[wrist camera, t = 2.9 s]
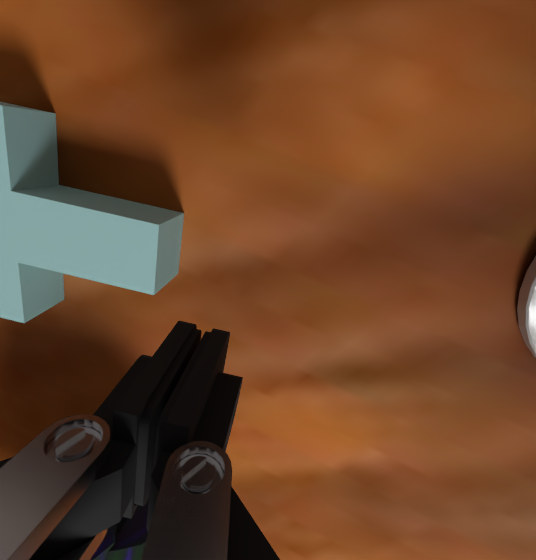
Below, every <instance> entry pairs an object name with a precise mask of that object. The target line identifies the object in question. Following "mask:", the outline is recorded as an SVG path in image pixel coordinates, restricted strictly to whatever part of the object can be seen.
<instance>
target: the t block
mask: <svg viewBox="0 0 536 560" xmlns="http://www.w3.org/2000/svg"><path fill="white" fill-rule="evenodd" d="M183 219H184V213H182V212H177V211H173V210H168V209H164V208H159V207H155V206H151V205H146V204H142V203H137V202H133V201H129V200H124V199H120V198H115V197H111V196H106V195H102V194H98V193H93V192H89V191H84V190H80V189H76V188H71V187H67V186H62V185H59V174H58V152H57V131H56V113H51V112H47V111H42V110H37V109H33V108H28V107H23V106H19V105H14V104H10V103H5V102H0V317H1V318H5V319H9V320H13V321H17V322H21V323H26V322H27V321H29V320H31V319H32V318H34V317H36V316H38V315H39V314H41V313H43V312H44V311H46V310H48V309H49V308H51V307H53V306H54V305H56V304H58V303H59V302H61V301H63V300H64V281H63V273H64V274H68V275H72V276H76V277H81V278H85V279H89V280H93V281H97V282H101V283H106V284H110V285H114V286H118V287H122V288H126V289H131V290H135V291H139V292H143V293H147V294H152V295H155V294H156V293H157V292H158V291H159V290H160V289H161V288H163V287H164V286H165V285H166V284H167V283H168V282H169V281H170V280H171V279H173V278H174V277H175V276H176V275H177V274H178V269H179V259H180V249H181V239H182V229H183Z"/></svg>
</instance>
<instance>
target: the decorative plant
mask: <svg viewBox="0 0 536 560" xmlns="http://www.w3.org/2000/svg"><path fill="white" fill-rule="evenodd" d="M148 503H149V498H148V500H147V502H146V504H145V505H144V506H141V505H138V506H137V508H136V510H135V512H134V514H133V516H132V519H130V518H126V517H122V519H121V521H120V522H118V523H117V524H115V525H113V526H111V527H109V528H108V529H107V533H106V535H105V537H104V539H103V541H102V542H101V544H100V545H99V547H98V548H97V550H96V551H95V553H94V554H93V556H92V557H91V559H90V560H141V559H142V555H143V551H144V547H145V544H146V540H147V536H148V531H147V528H146V526H147V514H148Z"/></svg>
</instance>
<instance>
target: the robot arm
mask: <svg viewBox="0 0 536 560" xmlns="http://www.w3.org/2000/svg"><path fill="white" fill-rule="evenodd" d="M517 313H518V323H519V329H520V331H521V334H522V337H523V339H524V342H525V344H526V345H527V347H528V348H529V350H530V351H531V352H532V354H533V355H534V357H535V358H536V256H535V258H534V259H533V261H532V263H531V264H530V266H529V268H528V270H527V272H526V274H525V277H524V280H523V283H522V285H521V288H520V292H519V299H518V306H517ZM229 336H230V332H227V331H223V330H218V329H213V330H212V331H211V332H207V331H206V332H205V333H204V335H203V337H202V339H201V330H198V329H196V324H192V323H187V322H183V321H178V322H177V324H176V325H175V326H174V328H173V329H172V331H171V332H170V333H169V335H168V336H167V337H166V339H165V340H164V341H163V343H162V344H161V346H160V347H159V348H158V350H157V351H156V352H155V354H154V355H153V356H152V357H151V356H146V355H142V356H140V357H139V358H138V359H137V361H136V362H135V363H134V364H133V366H132V367H131V368H130V369H129V371H128V372H127V373H126V374H125V376H124V377H123V378H122V379H121V381H120V382H119V383H118V384H117V386H116V387H115V388H114V389H113V391H112V392H111V393H110V394H109V396H108V397H107V398H106V399H105V401H104V402H103V403H102V404H101V406H100V407H99V408H98V410H97V411H96V412H95V413H94V415H90V414H78V415H73V416H69V417H66V418H63V419H61V420H59V421H57V422H55V423H54V424H52V425H51V426H49V427H48V428H46V429H45V430H44V431H43V432H42V433H41V434H39V435H38V436H37V437H36V438H35V439H34V440H32V441H31V442H30V443H29V444H28V445H27V446H26V447H24V448H23V449H22V450H21V451H20V452H19V453H17V454H16V455H15V456H14V457H11V458H9V459H6V460H3V461H0V560H90V559H91V557H92V556H93V554H94V553H95V551H96V550H97V548H98V547H99V545H100V544H101V542H102V541H103V539H104V537H105V535H106V533H107V529H108V528H109V527H111V526H113V525H115V524H117V523H118V522H120V521H121V519H122V517H126V518H130V519H132V516H133V514H134V512H135V510H136V508H137V506H138V505H141V506H144V505H145V504H146V502H147V500H148V498H149V503H148V514H147V526H146V528H147V531H148V536H147V540H146V544H145V547H144V551H143V555H142V559H141V560H280V559H279V558H278V556H277V555H276V553H275V552H274V550H273V548H272V547H271V545H270V544H269V542H268V541H267V539H266V538H265V536H264V535H263V533H262V532H261V530H260V529H259V527H258V526H257V524H256V523H255V521H254V520H253V518H252V517H251V515H250V514H249V512H248V511H247V509H246V508H245V506H244V505H243V503H242V502H241V500H240V499H239V497H238V495H237V494H236V492H235V491H234V489H233V488H232V486H231V481H232V467H231V461H230V459H229V457H228V455H227V454H226V452H225V451H226V447H227V443H228V440H229V436H230V432H231V428H232V424H233V420H234V416H235V412H236V408H237V403H238V399H239V394H240V389H241V384H242V379H243V377H238V376H234V375H230V374H225V373H223V370H224V365H225V359H226V353H227V348H228V342H229ZM200 340H201V341H200Z"/></svg>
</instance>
